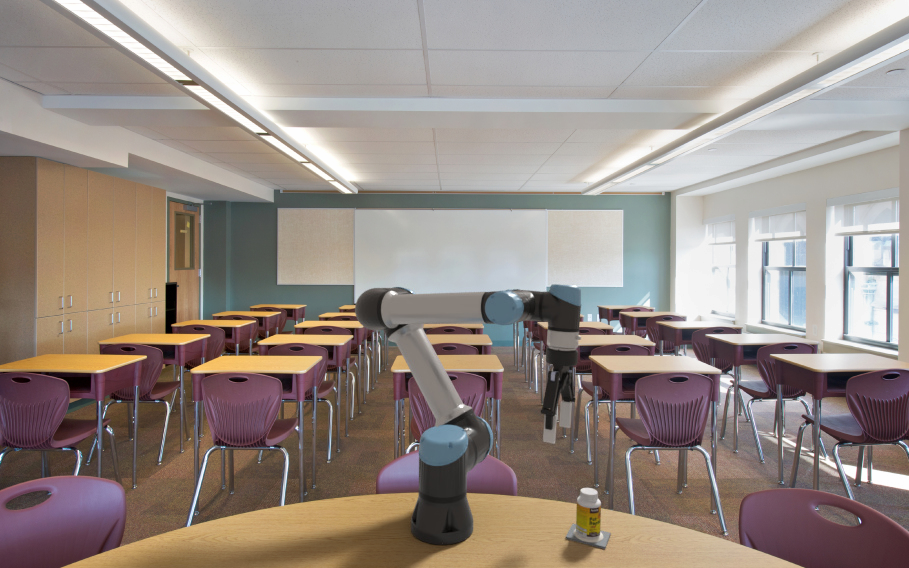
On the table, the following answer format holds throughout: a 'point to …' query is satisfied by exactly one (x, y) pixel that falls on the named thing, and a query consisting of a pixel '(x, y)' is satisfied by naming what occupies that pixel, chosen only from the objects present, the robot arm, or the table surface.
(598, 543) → the seat plate
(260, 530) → the table surface
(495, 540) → the table surface
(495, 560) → the table surface
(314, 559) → the table surface
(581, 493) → the supplement bottle
